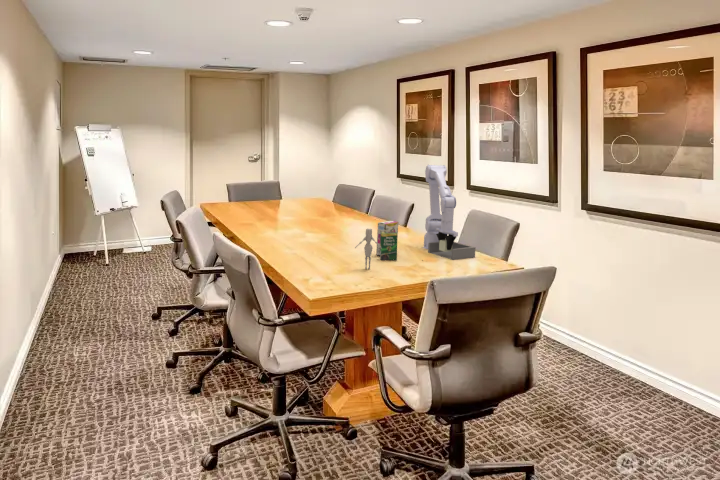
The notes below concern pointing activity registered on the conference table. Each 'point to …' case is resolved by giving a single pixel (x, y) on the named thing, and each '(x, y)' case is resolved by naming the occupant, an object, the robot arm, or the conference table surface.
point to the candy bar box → (387, 228)
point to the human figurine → (368, 246)
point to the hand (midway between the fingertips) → (445, 248)
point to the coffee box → (388, 246)
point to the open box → (453, 251)
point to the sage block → (443, 246)
